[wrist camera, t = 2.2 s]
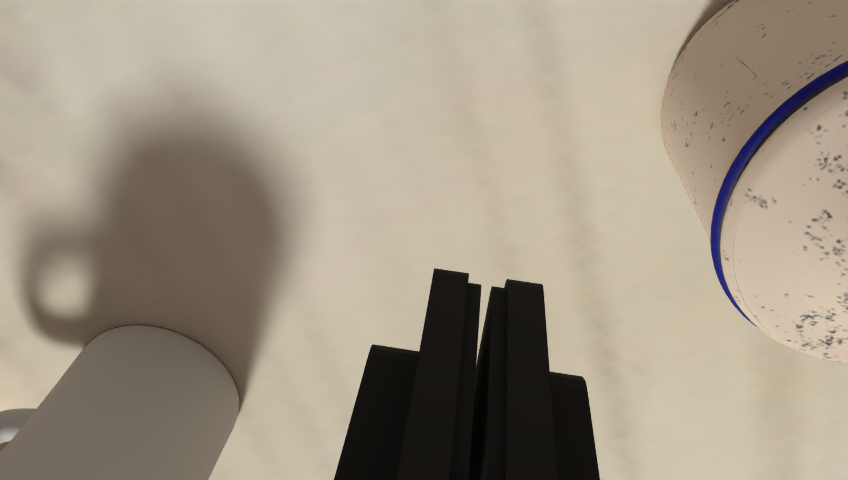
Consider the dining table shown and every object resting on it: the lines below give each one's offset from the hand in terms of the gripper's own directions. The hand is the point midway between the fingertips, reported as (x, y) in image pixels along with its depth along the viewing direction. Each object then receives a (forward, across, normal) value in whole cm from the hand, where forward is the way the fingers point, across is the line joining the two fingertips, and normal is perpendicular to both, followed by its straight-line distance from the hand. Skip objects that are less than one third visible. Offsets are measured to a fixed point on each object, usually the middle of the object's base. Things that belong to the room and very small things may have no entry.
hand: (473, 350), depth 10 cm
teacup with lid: (+16, -12, -1) cm, 20 cm away
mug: (+16, +16, +19) cm, 30 cm away
